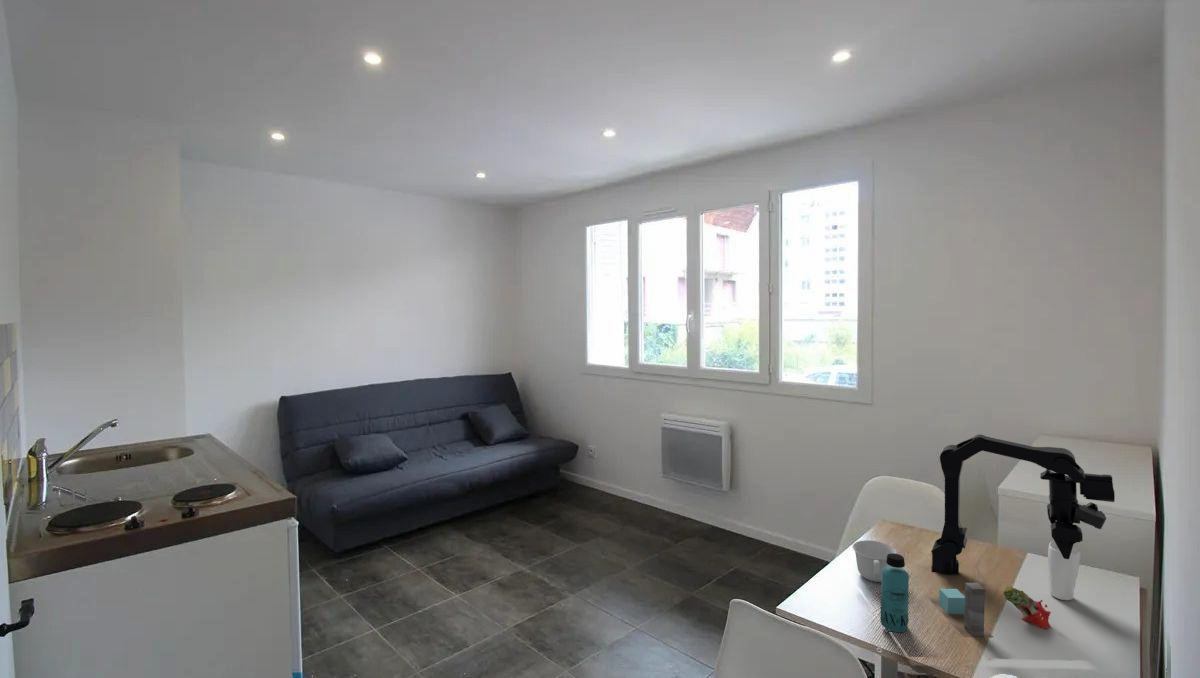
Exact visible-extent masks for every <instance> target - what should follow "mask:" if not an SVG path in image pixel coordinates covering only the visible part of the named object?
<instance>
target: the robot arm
mask: <svg viewBox="0 0 1200 678" xmlns="http://www.w3.org/2000/svg"><path fill="white" fill-rule="evenodd" d="M980 452H987V453H991V454H994V455H995V454H996V455H999V456H1004V457H1008V458H1013V459H1017V460H1020V461H1025V462H1030V463H1032V464H1036V465H1037V466H1040V467H1041V468H1044V469H1045V471H1043V472H1041V473H1040V474H1039V475H1040V476H1039V478H1040V480H1045V481H1048V486H1049V487H1048V488H1049V489H1048V491H1049V492H1048V493H1049V495H1048V500H1049V503H1048V504H1047V505H1046V510H1047V517H1048V520H1049V522H1050V535H1051V538H1052V539H1053V541H1055V543H1056V545H1057V547H1058V548H1059V550H1060V552H1061V554H1062V556H1063V558H1064V559H1069V558H1070V554H1071V551H1072V548H1073V545H1075V544H1077V543H1081V542H1083V532H1082V528H1081V527H1080V526H1078V524H1081V522H1082V523H1084V524H1087V525H1089V526H1092V527H1094V528H1095V529H1098V530H1102V528H1103V526H1104V525H1105V522H1106V521H1107V517H1106V515H1105V513H1103V510H1099V507H1098V504H1096V503H1093V502H1087V504H1080V503H1079V501H1078V498H1077V497H1078V496H1077V489H1078V488H1077V484H1079V495H1082V496H1083V498H1085V500H1092V501H1101V502H1107V503H1115V499H1116V498H1115V496H1116V495H1115V494H1116V493H1115V489H1114V482H1113V476H1112V475H1111V474H1097V473H1095V474H1094V473H1087V472H1086V473H1085V470H1084V469H1083V468H1082V467H1081V466H1080V465H1079V464H1078V463H1077V462H1076V456H1075V454H1073V452H1071V450H1070V449H1067V448H1063V447H1053V446H1031V445H1026V444H1022V443H1018V442H1014V441H1009V440H1005V439H1000V438H995V437H990V436H986V435H983V434H975V435H974V436H973V437H971V438H968V439H966V440H963V441H961V442H959V443H958V444H948V445H946V446H945V447H944V448H943V450H942V451H941V453H940V455H939V462H940V466H941V467H940V468H941V470H942V473H943V477H944V524H943V528H942V532H941V536H940V538H938V539H936V540H935V542H934V544H933V546H932V548H931V551H930V553H931V568H930V569H931V573H937V574H941V575H946V576H951V575H952V576H956V575H957V576H959V575H960V574H959V573H960V572H959V571H960V569H959V568H960V563H959V559H957V556H958V555H960V554H962V551H963V549H966V546H967V543H968V538H967V531H968V528H967V527H962V524H961V518H960V517H961V475H962V471H963V466H964V462H965V461H967V460H969V459H970V458H972V457H973V456H975V455H976V454H978V453H980Z"/></svg>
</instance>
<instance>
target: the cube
mask: <svg viewBox="0 0 1200 678" xmlns="http://www.w3.org/2000/svg"><path fill="white" fill-rule="evenodd" d="M938 593H939V594H938V595H939V596H938V597H939V605H940V606H941V607H942V608H943V609H944V610H945V611H946V613H947V614H965V594H963V593H962V592H961V591H960V590H959V589H957V588H939V589H938Z"/></svg>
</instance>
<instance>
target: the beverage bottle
mask: <svg viewBox="0 0 1200 678" xmlns="http://www.w3.org/2000/svg"><path fill="white" fill-rule="evenodd" d="M886 563H887V564H888V566H886V567H884V568H883V569H882V571H881V572H882V582H880V583H881V590H880V597H879V598H880V601H879V602H880V616H879V619H880V621H879V622H880V623H881V626H882V627H883V628H884V629H886V630H888V631H891V632H895V633H904V632H905V631H907V629H908V628H909V587H910V586H909V585H910V584H909V583H910V582H909V579H910V575H909V573H908V571H906V569H904V567H906V565H905V564H906V563H905V557H904V556H903V555H901V554H898V553H897V554H895V553H890V554H888V555H887V560H886Z"/></svg>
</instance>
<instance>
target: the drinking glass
mask: <svg viewBox="0 0 1200 678" xmlns="http://www.w3.org/2000/svg"><path fill="white" fill-rule="evenodd" d="M1047 548H1048V549H1047V566H1048V567H1047V569H1048V583H1049V584H1048V592H1049V594H1050V595H1051V596H1053V597H1054V598H1056V599H1058V600H1062V601H1071V600H1073V599H1074V597H1075V589H1076V584H1077V579H1078V578H1077V577H1078V574H1079V569H1080V564H1081V549H1080V548H1079V547H1078V546H1076V545H1075V544H1074V545H1073V548H1072V551H1071V554H1070V558H1069V559H1064V558H1063V556H1062V554H1061V552H1060V550H1059V548H1058V547H1057V545H1056V543H1055V541H1054V540H1052V541H1050V542H1049V543H1048V547H1047Z"/></svg>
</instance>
